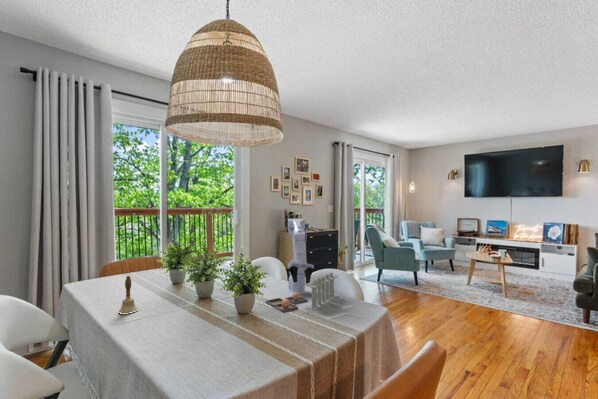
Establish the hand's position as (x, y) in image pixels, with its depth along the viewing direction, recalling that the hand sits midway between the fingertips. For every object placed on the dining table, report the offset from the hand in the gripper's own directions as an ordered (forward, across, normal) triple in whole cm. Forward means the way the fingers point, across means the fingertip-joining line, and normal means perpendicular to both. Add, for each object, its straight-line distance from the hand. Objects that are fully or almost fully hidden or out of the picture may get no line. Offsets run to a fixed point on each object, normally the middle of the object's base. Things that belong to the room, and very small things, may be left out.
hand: (301, 282), depth 152 cm
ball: (+12, -9, +1) cm, 15 cm away
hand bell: (+11, -69, +40) cm, 80 cm away
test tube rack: (+10, +11, -2) cm, 15 cm away
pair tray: (+11, -9, +5) cm, 15 cm away
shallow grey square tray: (+8, +1, +6) cm, 11 cm away
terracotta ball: (+8, +1, +6) cm, 10 cm away
